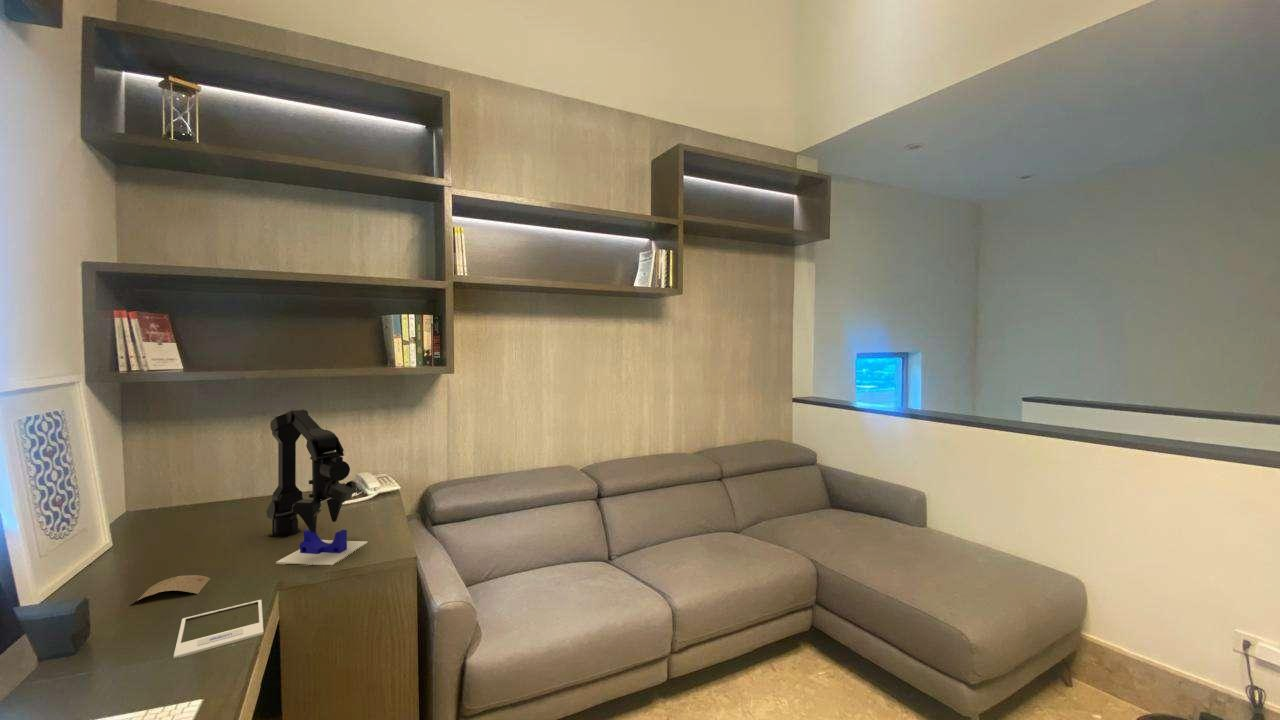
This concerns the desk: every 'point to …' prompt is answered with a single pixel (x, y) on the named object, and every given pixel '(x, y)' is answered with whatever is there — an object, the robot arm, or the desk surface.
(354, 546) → the desk mat
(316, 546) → the cable clip
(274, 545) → the desk surface
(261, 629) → the photo frame
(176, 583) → the brown curved sheet
